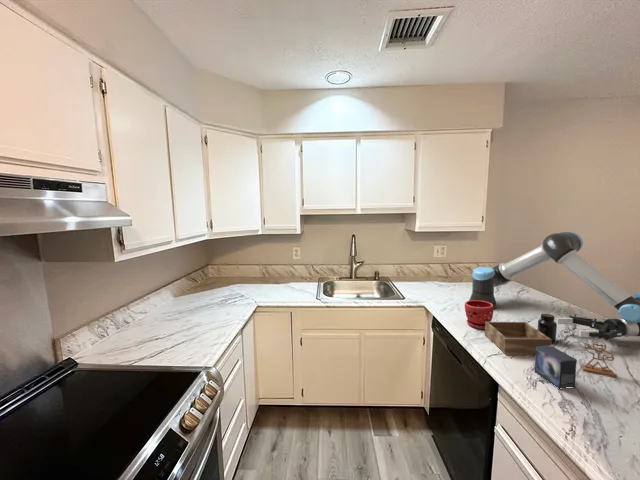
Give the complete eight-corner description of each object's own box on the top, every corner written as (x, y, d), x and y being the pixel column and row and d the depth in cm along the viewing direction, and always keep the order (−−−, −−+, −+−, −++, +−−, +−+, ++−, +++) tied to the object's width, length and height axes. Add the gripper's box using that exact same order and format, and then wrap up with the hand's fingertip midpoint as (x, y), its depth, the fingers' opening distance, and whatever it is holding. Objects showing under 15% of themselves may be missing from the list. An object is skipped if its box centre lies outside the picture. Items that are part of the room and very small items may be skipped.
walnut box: (484, 335, 137) (485, 321, 137) (524, 336, 135) (525, 321, 135) (504, 354, 120) (505, 339, 119) (550, 355, 118) (551, 339, 117)
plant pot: (491, 322, 152) (491, 300, 151) (494, 332, 140) (495, 309, 139) (463, 319, 158) (464, 298, 156) (464, 328, 146) (465, 306, 145)
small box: (532, 372, 107) (534, 345, 106) (548, 370, 107) (550, 344, 106) (558, 390, 96) (560, 361, 95) (576, 388, 97) (578, 359, 96)
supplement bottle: (559, 344, 127) (561, 318, 125) (542, 343, 128) (543, 317, 127) (550, 337, 133) (551, 312, 132) (533, 336, 135) (535, 312, 133)
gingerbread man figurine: (611, 372, 105) (614, 341, 104) (616, 377, 102) (618, 345, 100) (580, 366, 110) (582, 336, 108) (583, 371, 106) (585, 340, 105)
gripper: (648, 349, 114) (590, 348, 117) (595, 323, 139) (548, 323, 141) (649, 331, 114) (591, 331, 116) (596, 309, 138) (549, 309, 141)
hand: (567, 327), depth 129 cm, fingers open, 13 cm apart
